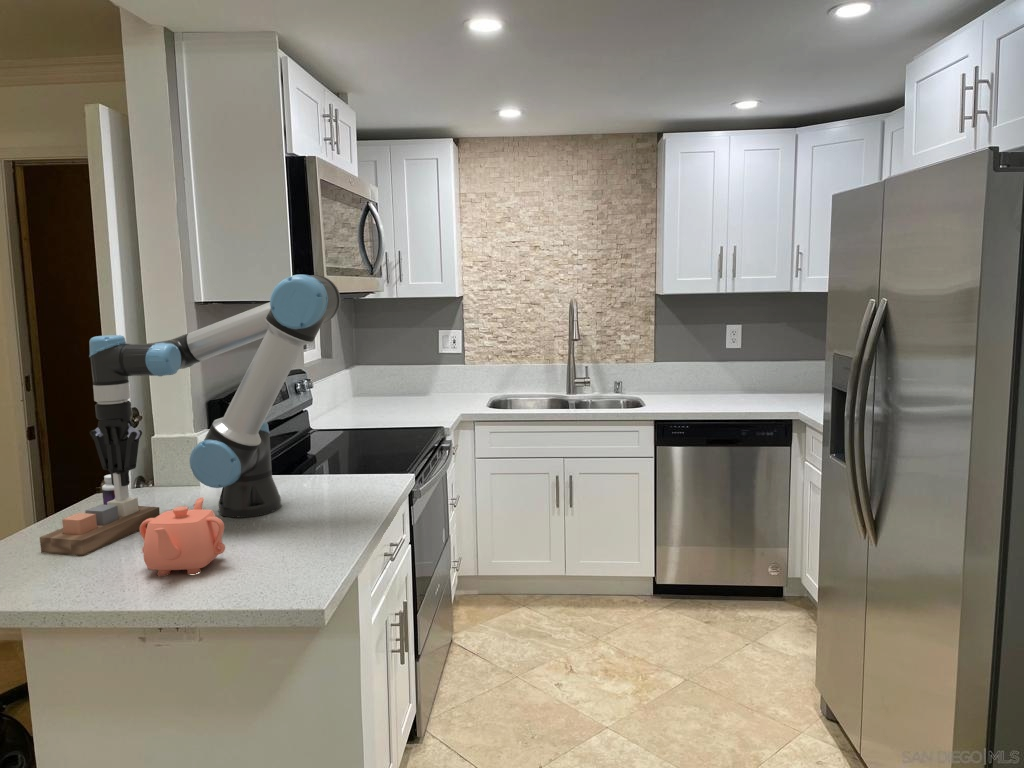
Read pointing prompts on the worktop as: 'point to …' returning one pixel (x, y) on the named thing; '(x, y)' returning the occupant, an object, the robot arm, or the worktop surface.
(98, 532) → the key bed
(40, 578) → the worktop surface
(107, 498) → the pill bottle
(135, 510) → the cream cube
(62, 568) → the worktop surface
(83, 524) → the salmon orange cube
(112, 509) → the slate key
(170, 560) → the teapot
